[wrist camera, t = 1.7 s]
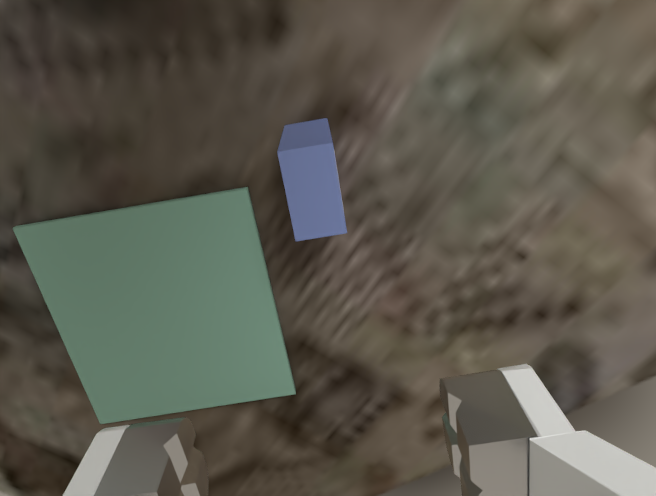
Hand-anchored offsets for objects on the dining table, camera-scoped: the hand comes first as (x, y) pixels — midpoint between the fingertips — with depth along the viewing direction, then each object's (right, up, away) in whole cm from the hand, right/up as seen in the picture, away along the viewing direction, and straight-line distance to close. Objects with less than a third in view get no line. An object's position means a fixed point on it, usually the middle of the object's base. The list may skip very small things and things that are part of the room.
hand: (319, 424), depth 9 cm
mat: (-10, -1, +23) cm, 25 cm away
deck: (-1, +8, +19) cm, 21 cm away
